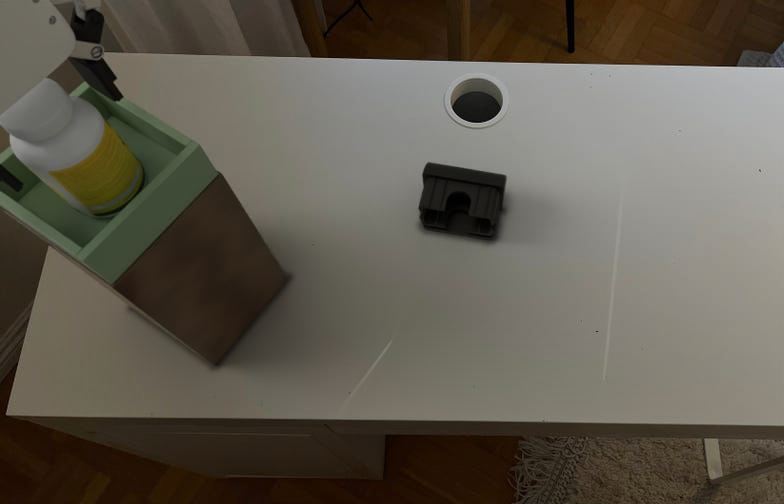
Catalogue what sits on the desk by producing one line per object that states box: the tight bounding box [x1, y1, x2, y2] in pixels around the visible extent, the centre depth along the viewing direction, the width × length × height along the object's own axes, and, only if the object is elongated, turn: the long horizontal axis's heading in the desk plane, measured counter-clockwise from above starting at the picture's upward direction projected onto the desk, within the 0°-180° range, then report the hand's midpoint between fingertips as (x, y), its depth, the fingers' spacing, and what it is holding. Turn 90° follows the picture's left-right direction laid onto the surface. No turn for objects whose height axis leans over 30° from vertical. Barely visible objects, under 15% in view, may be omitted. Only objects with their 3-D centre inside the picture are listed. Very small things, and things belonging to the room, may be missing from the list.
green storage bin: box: [0, 80, 218, 284], centre depth 54 cm, size 13×13×5 cm
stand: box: [2, 170, 289, 367], centre depth 67 cm, size 13×13×24 cm
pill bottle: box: [0, 77, 146, 218], centre depth 51 cm, size 6×6×12 cm
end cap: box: [417, 161, 508, 241], centre depth 81 cm, size 10×7×7 cm
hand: (59, 134), depth 49 cm, fingers open, 9 cm apart
